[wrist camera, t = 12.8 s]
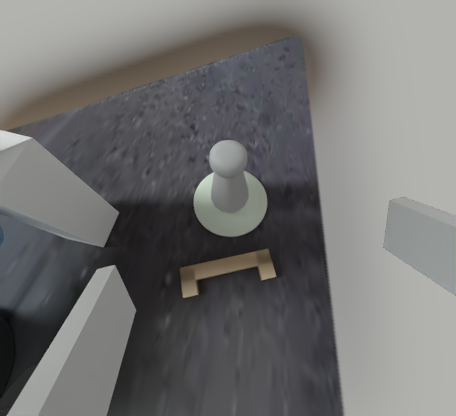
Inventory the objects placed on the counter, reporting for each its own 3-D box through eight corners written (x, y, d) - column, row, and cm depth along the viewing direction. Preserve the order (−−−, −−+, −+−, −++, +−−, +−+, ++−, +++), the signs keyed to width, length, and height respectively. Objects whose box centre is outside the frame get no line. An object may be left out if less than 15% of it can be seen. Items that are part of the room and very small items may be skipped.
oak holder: (274, 277, 32) (276, 276, 30) (185, 297, 31) (183, 298, 30) (266, 250, 33) (268, 248, 32) (181, 269, 32) (179, 268, 31)
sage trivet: (179, 212, 36) (178, 210, 35) (220, 159, 40) (220, 157, 39) (242, 252, 33) (242, 251, 33) (279, 191, 37) (280, 190, 36)
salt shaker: (251, 189, 37) (260, 135, 24) (243, 220, 34) (249, 180, 22) (216, 182, 37) (209, 126, 25) (207, 212, 35) (194, 168, 23)
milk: (84, 204, 36) (-81, 87, 16) (120, 212, 36) (0, 106, 16) (66, 239, 34) (-155, 156, 14) (104, 248, 34) (-61, 179, 13)
